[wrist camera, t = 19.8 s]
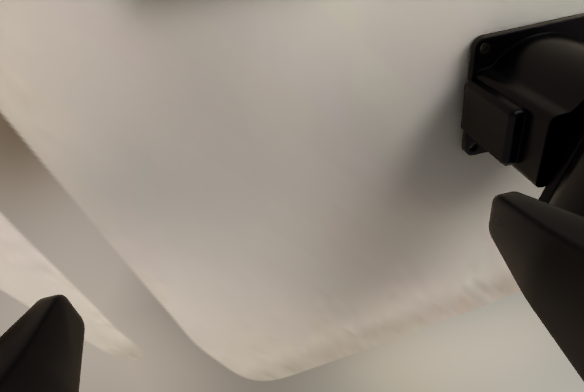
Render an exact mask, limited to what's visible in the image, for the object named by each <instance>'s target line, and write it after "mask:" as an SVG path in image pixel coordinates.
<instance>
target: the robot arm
mask: <svg viewBox="0 0 584 392" xmlns="http://www.w3.org/2000/svg"><path fill="white" fill-rule="evenodd" d="M483 43H486V45H485V48H484V49H483V50H481V51H480V47H481V45H482V44H483ZM461 128H462V129H463V139H462V149H463V150H464V151H465V152H466V153H467V154H468V155H476V154H480V153H485V152H489V153H490V154H491V155H492V156H494V157H495V158H496V159H497V160H498V161H499V162H500V163H502V164H503V165H505V166H508V165H512V166H513V167H515V168H516V169H517V170H518V171H519V172H520V173H521V174H523V175H524V176H525V177H526V178H527V179H528V180H530V181H531V182H532V183H533V184H534V185H535V186H537V187H545V186H546V187H545V189H544V191H543V192H542V194H541V196H540V198H539V200H538V199H535V198H532V197H530V196H527V195H524V194H522V193H519V192H509V193H504V194H500V195H497V196H495V197H494V199H493V202H492V208H491V215H490V221H489V231H490V234H491V237H492V239H493V241H494V242H495V244H496V246H497V248H498V250H499V251H500V253H501V255H502V257H503V259H504V261H505V262H506V264H507V266H508V268H509V270H510V271H511V273H512V275H513V277H514V279H515V281H516V282H517V284H518V286H519V288H520V290H521V291H522V293H523V295H524V296H525V298H526V299H527V301H528V302H529V304H530V305H531V307H532V308H533V310H534V311H535V313H536V314H537V316H538V317H539V318H540V320H541V321H542V323H543V324H544V325H545V327H546V328H547V330H548V331H549V333H550V334H551V335H552V337H553V338H554V340H555V341H556V343H557V344H558V345H559V347H560V348H561V350H562V351H563V353H564V354H565V355H566V357H567V358H568V360H569V361H570V363H571V364H572V365H573V367H574V368H575V370H576V371H577V373H578V374H579V375H580V377H581V378H582V380H583V381H584V13H583V14H578V15H573V16H569V17H564V18H560V19H555V20H550V21H546V22H541V23H536V24H532V25H527V26H522V27H518V28H513V29H508V30H504V31H499V32H495V33H490V34H485V35H481V36H479V37H477V38H476V39H475V40H474V41H473V43H472V45H471V50H470V61H469V72H468V81H467V83H466V84H465V88H464V99H463V111H462V122H461ZM474 143H475V144H474ZM472 144H474V146H473V147H471V148H470V146H471V145H472ZM84 330H85V328H84V322H83V320H82V318H81V316H80V315H79V314H78V312H77V311H76V310H75V308H74V307H73V306H72V304H71V303H70V302H69V300H68V299H67V298H66V297H65V296H63V295H55V296H50V297H46V298H43V299H40V300H39V301H37V302H36V303H35V304H34V305H33V306H32V307H31V308H30V309H29V310H28V311H27V312H26V313H25V314H24V315H23V316H22V317H21V318H20V319H19V320H18V321H17V322H15V323H14V325H12V326H11V327H10V328H9V329H8V330H7V331H6V332H5V333H4V334H3V335H2V336H1V337H0V392H79V383H80V372H81V361H82V352H83V342H84Z"/></svg>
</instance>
